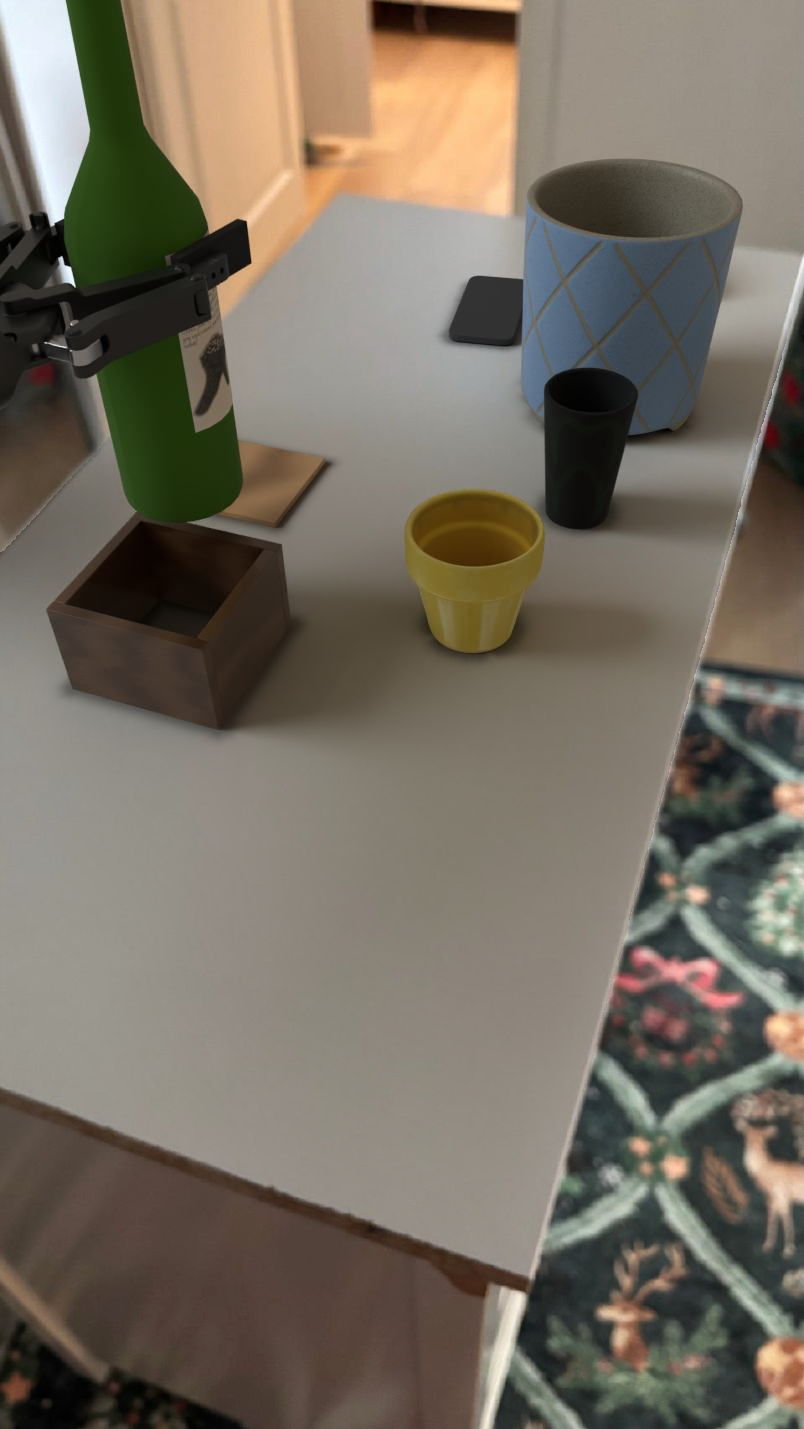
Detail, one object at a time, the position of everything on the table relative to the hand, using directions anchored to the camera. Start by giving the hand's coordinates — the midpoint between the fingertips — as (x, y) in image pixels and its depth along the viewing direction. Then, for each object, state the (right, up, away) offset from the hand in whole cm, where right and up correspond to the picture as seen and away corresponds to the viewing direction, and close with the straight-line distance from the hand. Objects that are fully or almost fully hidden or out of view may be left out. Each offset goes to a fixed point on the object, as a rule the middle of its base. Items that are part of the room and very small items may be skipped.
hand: (186, 225), depth 71 cm
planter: (+35, 0, +39) cm, 53 cm away
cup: (+30, -14, +26) cm, 42 cm away
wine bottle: (-2, -15, +10) cm, 19 cm away
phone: (+24, +14, +53) cm, 60 cm away
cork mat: (0, -11, +30) cm, 32 cm away
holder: (-3, -28, +13) cm, 31 cm away
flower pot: (+20, -25, +15) cm, 36 cm away
